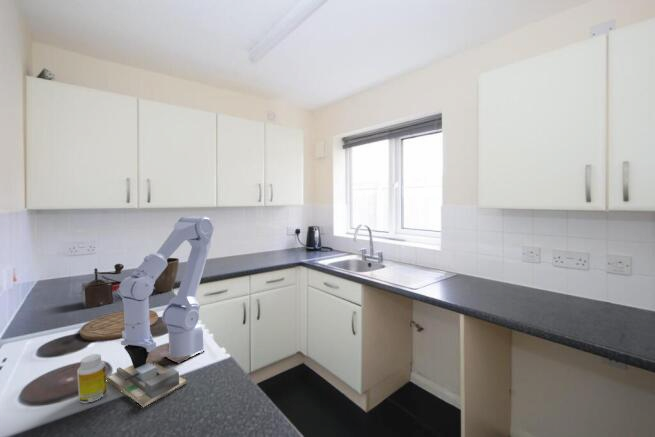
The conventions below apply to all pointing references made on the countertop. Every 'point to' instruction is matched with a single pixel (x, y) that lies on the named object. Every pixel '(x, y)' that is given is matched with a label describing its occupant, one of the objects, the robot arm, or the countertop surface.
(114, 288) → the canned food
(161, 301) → the countertop surface
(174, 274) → the plant pot
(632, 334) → the countertop surface
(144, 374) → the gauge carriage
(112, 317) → the trivet
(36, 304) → the countertop surface
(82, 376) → the supplement bottle
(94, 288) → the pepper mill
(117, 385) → the gauge base
